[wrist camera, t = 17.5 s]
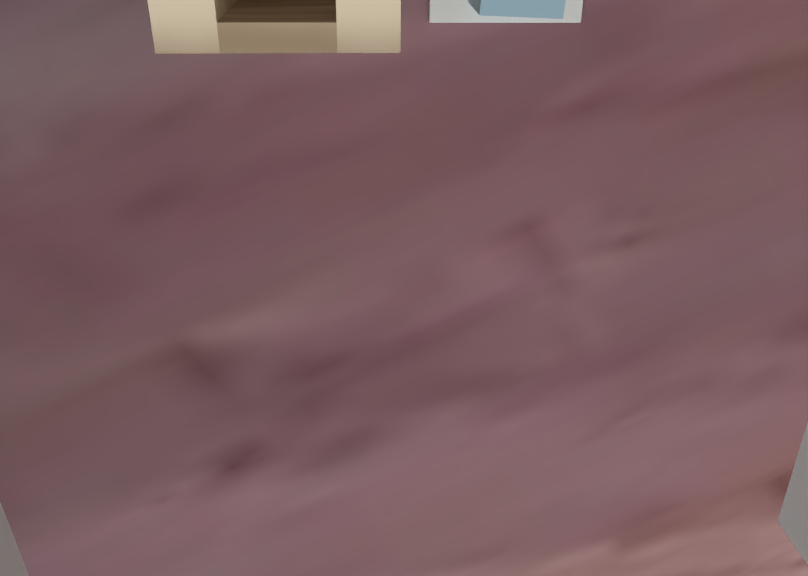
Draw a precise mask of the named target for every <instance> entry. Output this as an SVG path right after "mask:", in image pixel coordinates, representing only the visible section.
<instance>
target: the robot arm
mask: <svg viewBox="0 0 808 576" xmlns="http://www.w3.org/2000/svg"><path fill="white" fill-rule="evenodd" d="M778 523H779V524H780V526H781V527H782V529H783V530H784V532H785V533H786V534H787V536H788V537H789V539H790V540H791V542H792V543H793V544H794V546H795V547H796V549H797V550H798V552H799V553H800V555H801V556H802V557H803V559H804V560H805V562H806V563H807V565H808V423H807V426H806V429H805V433H804V436H803V439H802V442H801V446H800V449H799V452H798V456H797V459H796V462H795V466H794V469H793V472H792V476H791V479H790V482H789V486H788V489H787V492H786V495H785V499H784V502H783V505H782V509H781V512H780V515H779V519H778ZM0 576H28V573H27V570H26V568H25V565H24V563H23V560H22V557H21V555H20V552H19V549H18V547H17V544H16V542H15V539H14V536H13V534H12V531H11V529H10V526H9V523H8V521H7V518H6V516H5V513H4V510H3V508H2V505H1V502H0Z"/></svg>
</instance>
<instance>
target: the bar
mask: <svg viewBox="0 0 808 576" xmlns="http://www.w3.org/2000/svg"><path fill="white" fill-rule="evenodd" d="M565 2H566V0H468V3H469V4H470V5H471V6H472V7H473V8H474V10H475V11H476V12H477V13H478V14H479V15H482V16H505V17H528V18H551V19H563V15H564V8H565Z"/></svg>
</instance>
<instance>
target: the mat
mask: <svg viewBox="0 0 808 576" xmlns="http://www.w3.org/2000/svg"><path fill="white" fill-rule="evenodd" d="M582 6H583V0H566V2H565V8H564V15H563V19H551V18H528V17H505V16H482V15H479V14H478V13H477V12H476V11H475V10H474V8H473V7H472V6H471V5H470V4H469V3H468V0H429V22H430V23H581V14H582Z"/></svg>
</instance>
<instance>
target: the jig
mask: <svg viewBox="0 0 808 576" xmlns="http://www.w3.org/2000/svg"><path fill="white" fill-rule="evenodd" d="M148 7H149V13H150V20H151V27H152V33H153V40H154V47H155V53H400V34H401V0H148Z"/></svg>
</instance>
